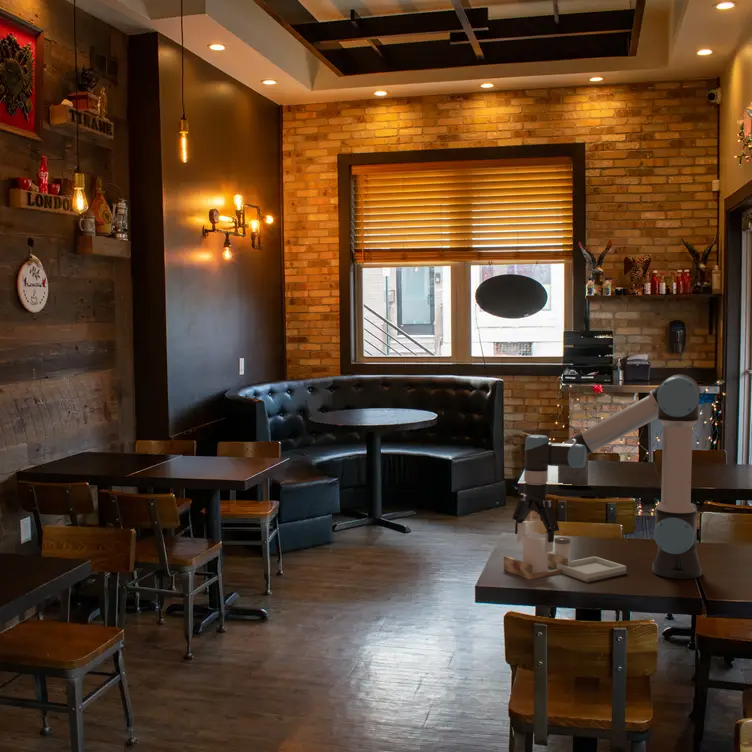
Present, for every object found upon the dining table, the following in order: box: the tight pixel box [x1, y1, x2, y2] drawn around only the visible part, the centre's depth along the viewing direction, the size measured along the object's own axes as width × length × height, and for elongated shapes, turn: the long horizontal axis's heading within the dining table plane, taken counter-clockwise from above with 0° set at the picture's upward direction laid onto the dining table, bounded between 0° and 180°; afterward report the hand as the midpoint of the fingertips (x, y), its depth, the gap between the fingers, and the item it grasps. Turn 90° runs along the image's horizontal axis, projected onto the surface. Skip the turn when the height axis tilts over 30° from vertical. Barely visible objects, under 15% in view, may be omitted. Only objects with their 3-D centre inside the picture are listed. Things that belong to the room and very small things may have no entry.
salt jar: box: [553, 536, 571, 561], centre depth 300 cm, size 5×5×9 cm
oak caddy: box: [503, 552, 568, 580], centre depth 294 cm, size 13×16×4 cm
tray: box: [557, 555, 627, 583], centre depth 292 cm, size 14×17×2 cm
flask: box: [557, 455, 589, 486], centre depth 439 cm, size 4×14×18 cm, turn 78°
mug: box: [522, 532, 549, 574], centre depth 294 cm, size 12×8×12 cm
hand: (534, 546), depth 294 cm, fingers open, 13 cm apart
